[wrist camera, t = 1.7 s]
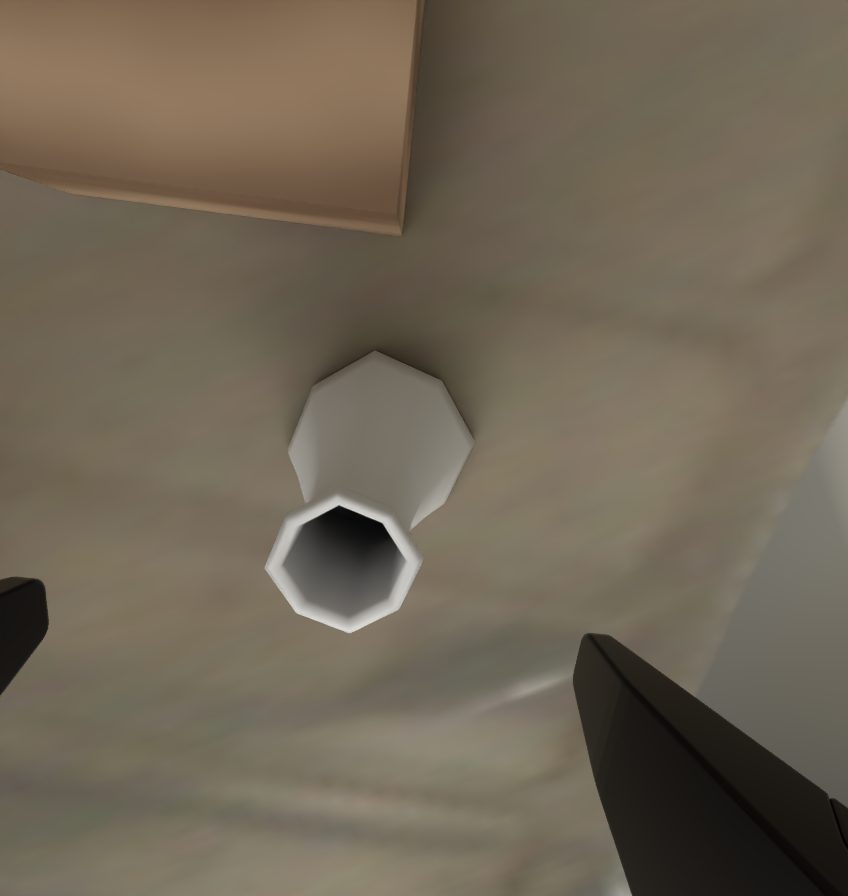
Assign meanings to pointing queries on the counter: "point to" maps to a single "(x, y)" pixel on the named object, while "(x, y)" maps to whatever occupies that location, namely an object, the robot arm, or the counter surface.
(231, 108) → the walnut block
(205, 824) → the counter surface
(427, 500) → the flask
